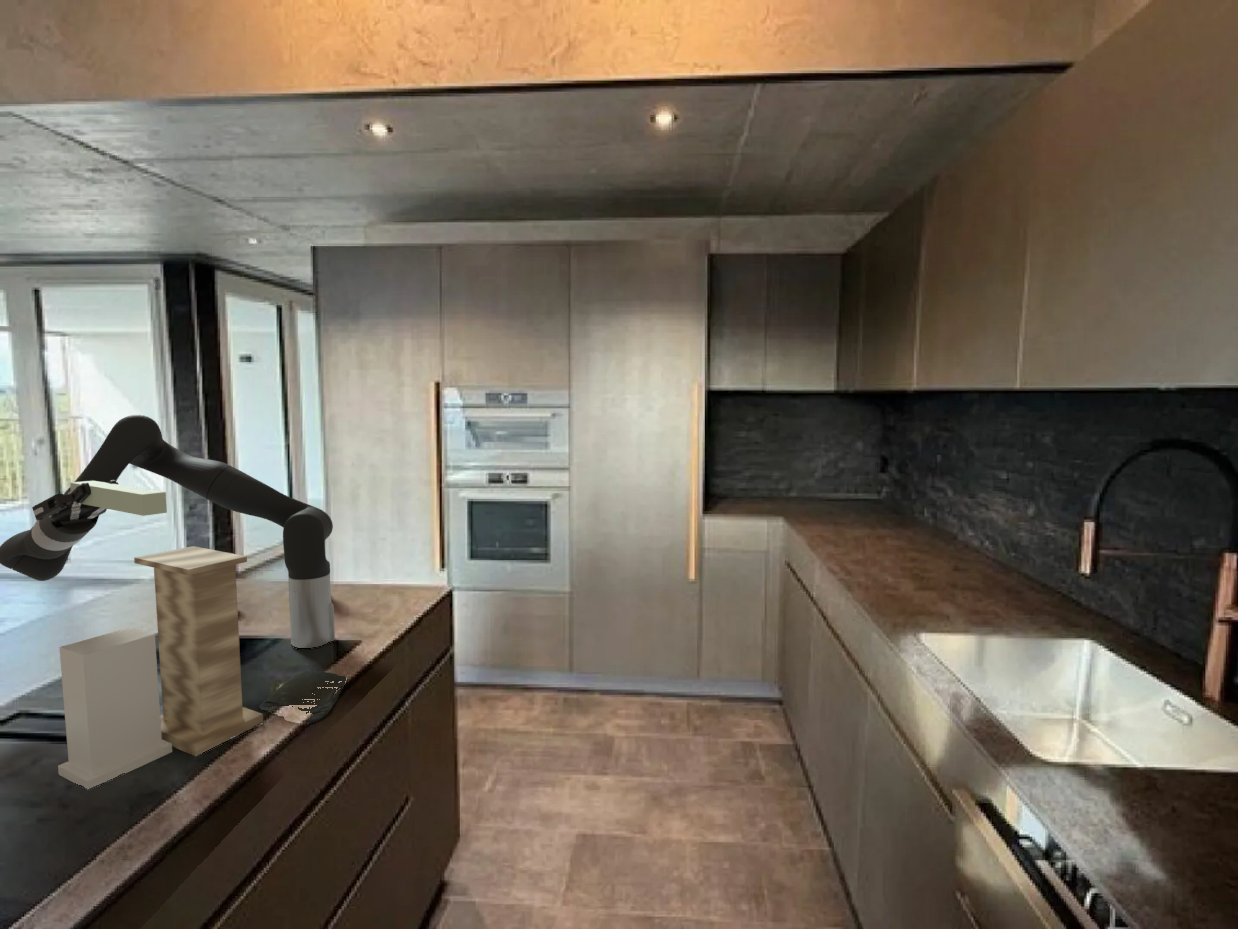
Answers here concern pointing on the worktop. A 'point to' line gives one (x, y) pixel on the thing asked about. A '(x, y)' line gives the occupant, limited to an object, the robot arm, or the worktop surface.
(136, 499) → the bar
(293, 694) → the stone slab
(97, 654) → the pedestal
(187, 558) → the stand
